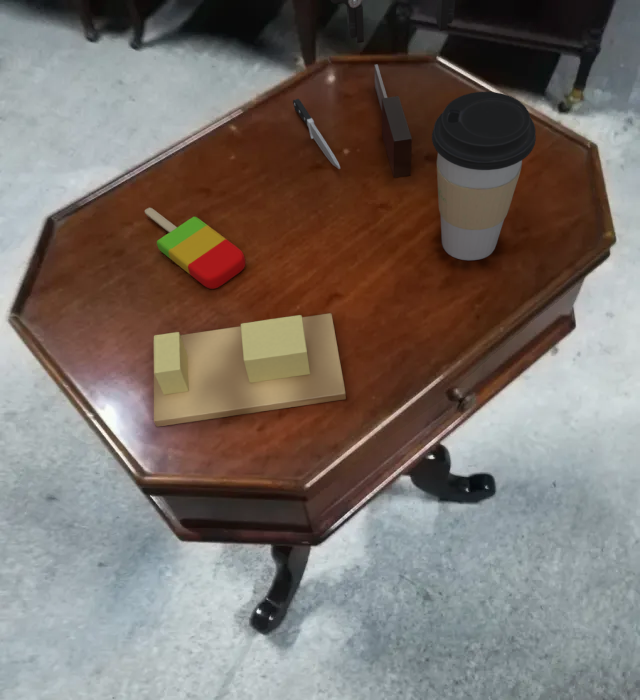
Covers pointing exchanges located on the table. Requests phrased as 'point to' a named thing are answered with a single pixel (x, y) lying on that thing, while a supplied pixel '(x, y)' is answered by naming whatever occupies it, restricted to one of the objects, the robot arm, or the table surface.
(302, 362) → the butter stick
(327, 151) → the knife
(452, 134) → the coffee cup
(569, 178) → the table surface
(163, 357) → the butter pat
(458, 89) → the table surface
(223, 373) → the board
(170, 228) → the popsicle
